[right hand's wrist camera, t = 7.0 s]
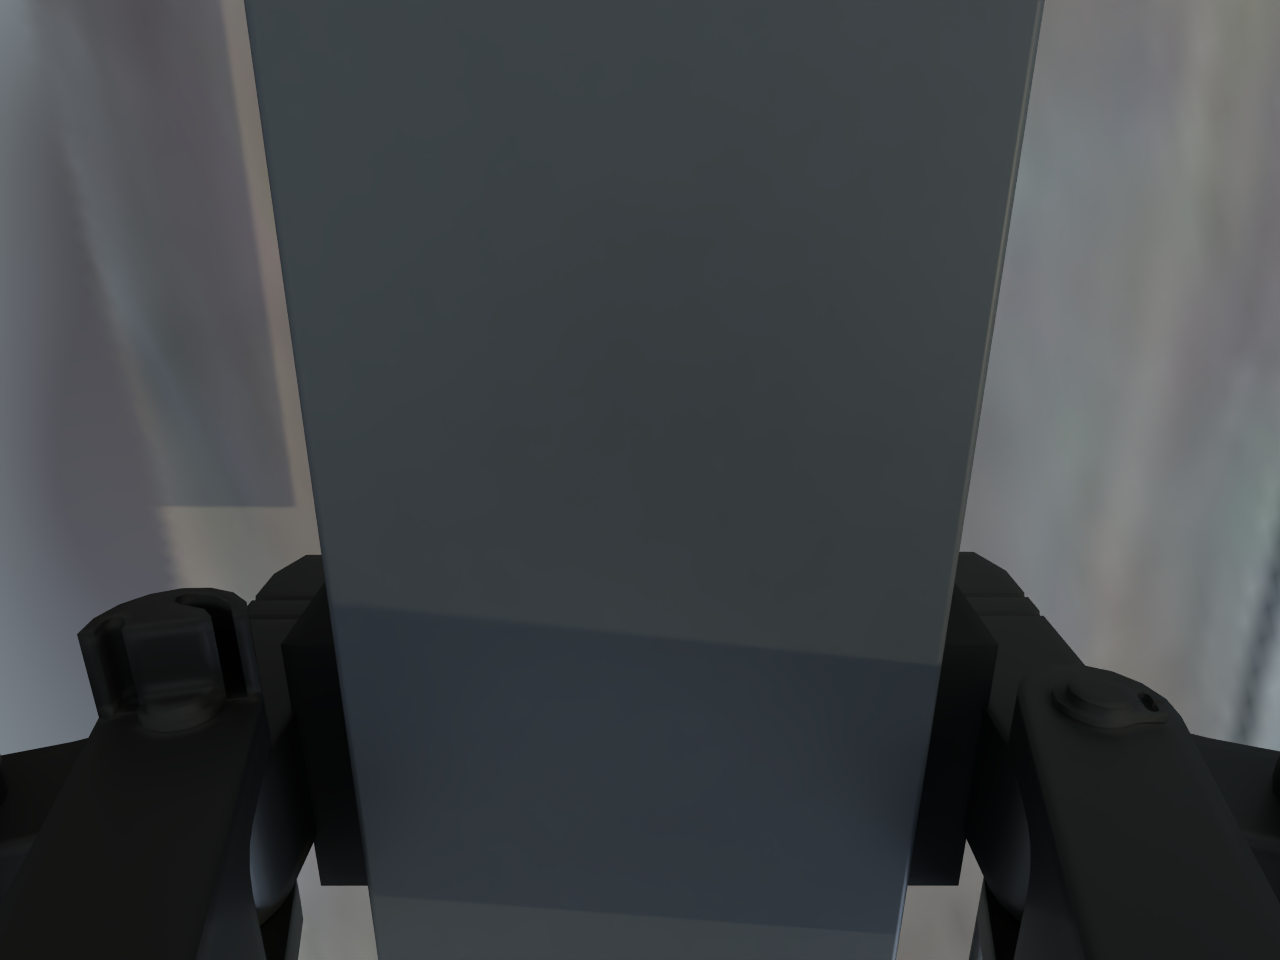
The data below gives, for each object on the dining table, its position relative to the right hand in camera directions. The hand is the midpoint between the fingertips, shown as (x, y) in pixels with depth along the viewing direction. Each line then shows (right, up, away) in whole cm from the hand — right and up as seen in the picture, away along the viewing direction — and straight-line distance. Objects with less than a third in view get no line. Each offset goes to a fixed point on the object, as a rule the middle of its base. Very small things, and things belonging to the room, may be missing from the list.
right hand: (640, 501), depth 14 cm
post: (0, +24, -9) cm, 26 cm away
